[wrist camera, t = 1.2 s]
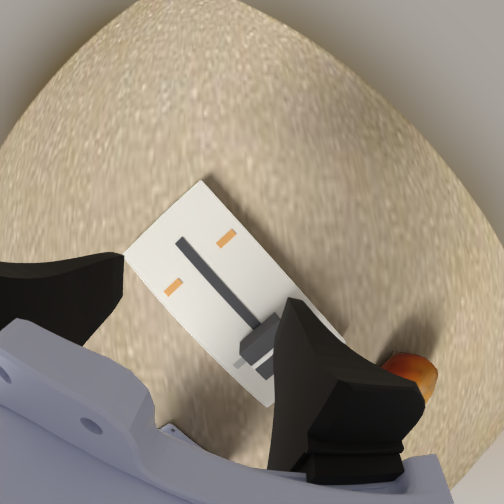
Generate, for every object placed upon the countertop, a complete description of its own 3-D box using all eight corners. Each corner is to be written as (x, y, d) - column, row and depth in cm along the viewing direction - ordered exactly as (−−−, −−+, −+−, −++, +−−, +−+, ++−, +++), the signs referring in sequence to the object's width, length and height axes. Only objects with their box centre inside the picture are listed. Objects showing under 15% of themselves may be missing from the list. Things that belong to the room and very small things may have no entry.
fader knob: (297, 336, 28) (305, 348, 24) (263, 365, 27) (266, 381, 24) (274, 312, 27) (278, 320, 24) (239, 342, 27) (239, 354, 24)
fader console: (341, 338, 29) (346, 342, 28) (265, 401, 29) (266, 408, 28) (202, 182, 29) (200, 179, 27) (127, 254, 29) (121, 255, 27)
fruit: (396, 324, 28) (447, 366, 21) (407, 350, 32) (447, 385, 26) (344, 377, 28) (388, 426, 21) (363, 393, 32) (400, 433, 26)
